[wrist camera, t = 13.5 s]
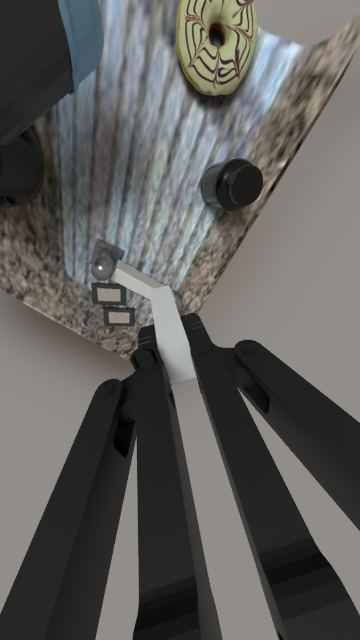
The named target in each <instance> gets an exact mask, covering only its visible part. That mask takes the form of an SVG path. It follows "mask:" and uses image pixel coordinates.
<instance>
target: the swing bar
mask: <svg viewBox="0 0 360 640" xmlns="http://www.w3.org/2000/svg"><path fill="white" fill-rule="evenodd" d="M111 280H113V281H115V282H117V283H119V284H121V285H122V286H124V287H126V288H128V289H130V290H132V291H134V292H136V293H138V294H140V295H142V296H144V297H146V298H148V299H150V300H151V297H150V291H149V290H152V289H156V288H160V287H163V286H164V285H162V284H161V283H159V282H157V281H156V280H154V279H152V278H150V277H149V276H147V275H145V274H143V273H142V272H140V271H138V270H136V269H135V268H133V267H131V266H129V265H128V264H126V263H124V262H122V261H121V260H119V259H118V261H117V263H116V265H115V266H114V268H113V271H112V275H111ZM170 290H171V289H170ZM171 293H172V296H173V298H174V301H175V304H176V307H177V310H178V312H180V311H181V310H182V308H183V304H182V302H181V299H180V297H179V294H178V292H177V291H175V290H171Z"/></svg>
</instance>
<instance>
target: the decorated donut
mask: <svg viewBox="0 0 360 640" xmlns="http://www.w3.org/2000/svg"><path fill="white" fill-rule="evenodd" d="M211 29H217V30H218V31H219V32H220V33H221V35H222V37H223V46H221V47H220V48H219V49H218V48H217V47H215V46H212V45H211V43H210V40H209V31H210V30H211ZM257 33H258V19H257V12H256V8H255V4H254V0H180V4H179V8H178V16H177V25H176V47H177V53H178V57H179V60H180V63H181V66H182V69H183V72H184V73H185V75H186V77H187V79H188V80H189V81H190V82H191V84H192V85H193V86H194V88H196V89H197V90H198V91H199V92H200V93H202V94H204V95H212V96H217V95H228V94H230V93H232V92H233V91H234V90H235V89H236V88H237V86H238V84H239V83H240V81H241V80H242V78H243V77H244V76H245V74H246V71H247V69H248V67H249V64H250V62H251V59H252V56H253V54H254V49H255V45H256V40H257Z"/></svg>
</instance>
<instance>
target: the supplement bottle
mask: <svg viewBox="0 0 360 640" xmlns="http://www.w3.org/2000/svg"><path fill="white" fill-rule="evenodd" d="M262 187H263V177H262V173H261V171H260V170H259V168H257V167H256V166H253V165H252V164H251V163H250V162H249V161H247V160H245V159H242V158H237V159H232V160H228V161H224V162H220V163H217V164H214V165H212V166H211V167H210V168H209V169H208V170H207V171H206V172H205V174H204V176H203V178H202V182H201V194H202V197H203V199H204V201H205V202H206V203H207V204H208V205H210V206H212V207H215V208H219V209H223V210H227V211H237V210H240V209H242V208H244V207H245V206H246V205H249V204H251V203H252V202H254V201H255V200H256V199H257V198H258V197H259V194H260V193H261V190H262Z"/></svg>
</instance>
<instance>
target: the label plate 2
mask: <svg viewBox="0 0 360 640" xmlns="http://www.w3.org/2000/svg"><path fill="white" fill-rule="evenodd" d="M103 310H104V324H105V326H134V308H115V307H104V308H103Z"/></svg>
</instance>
